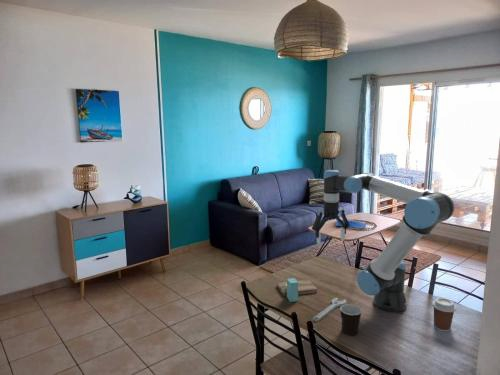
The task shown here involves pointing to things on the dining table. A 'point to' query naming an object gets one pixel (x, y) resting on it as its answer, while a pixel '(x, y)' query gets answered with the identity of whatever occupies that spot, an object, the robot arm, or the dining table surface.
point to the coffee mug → (350, 319)
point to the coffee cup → (443, 313)
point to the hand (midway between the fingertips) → (330, 242)
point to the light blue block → (292, 289)
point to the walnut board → (299, 287)
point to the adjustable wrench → (329, 309)
